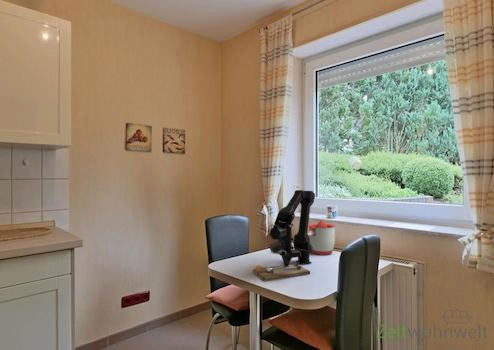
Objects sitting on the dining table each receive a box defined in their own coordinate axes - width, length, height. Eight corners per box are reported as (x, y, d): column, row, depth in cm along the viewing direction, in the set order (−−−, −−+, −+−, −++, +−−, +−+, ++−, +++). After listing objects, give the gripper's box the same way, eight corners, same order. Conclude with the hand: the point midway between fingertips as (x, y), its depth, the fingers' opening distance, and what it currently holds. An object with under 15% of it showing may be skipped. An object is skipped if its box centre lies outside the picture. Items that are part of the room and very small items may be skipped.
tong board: (252, 272, 152) (252, 265, 152) (294, 266, 161) (294, 260, 161) (265, 281, 139) (265, 274, 139) (310, 274, 148) (310, 267, 148)
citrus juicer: (301, 251, 191) (301, 219, 191) (323, 248, 199) (323, 217, 199) (317, 257, 177) (317, 223, 177) (340, 254, 184) (340, 221, 184)
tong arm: (265, 271, 147) (265, 267, 147) (296, 267, 154) (296, 263, 154) (267, 273, 145) (267, 269, 145) (298, 268, 152) (298, 264, 152)
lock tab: (255, 269, 151) (255, 265, 151) (260, 268, 151) (260, 264, 151) (258, 271, 148) (258, 267, 148) (262, 270, 149) (262, 266, 149)
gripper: (262, 234, 158) (263, 264, 158) (281, 241, 141) (281, 275, 141) (281, 232, 162) (282, 261, 163) (301, 239, 145) (301, 272, 145)
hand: (286, 267), depth 153 cm, fingers closed
